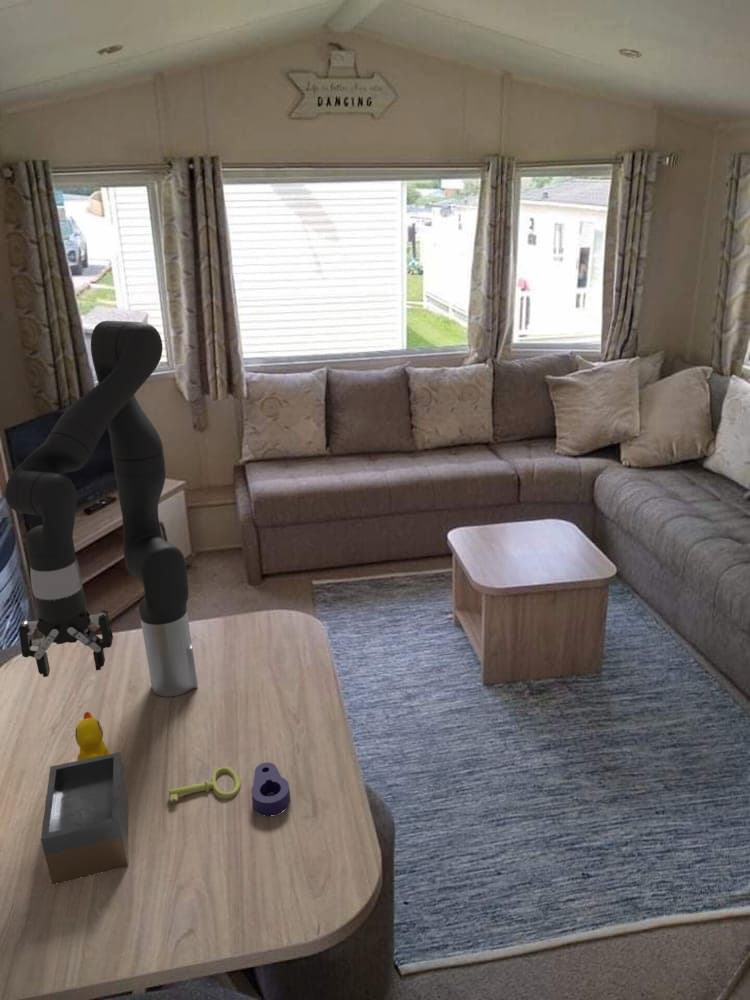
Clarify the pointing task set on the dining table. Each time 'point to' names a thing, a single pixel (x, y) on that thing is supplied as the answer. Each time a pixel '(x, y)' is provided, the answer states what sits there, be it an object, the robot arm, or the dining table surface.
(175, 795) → the key
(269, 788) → the lever
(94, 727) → the duckling
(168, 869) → the dining table surface
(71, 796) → the gray rectangular tray
